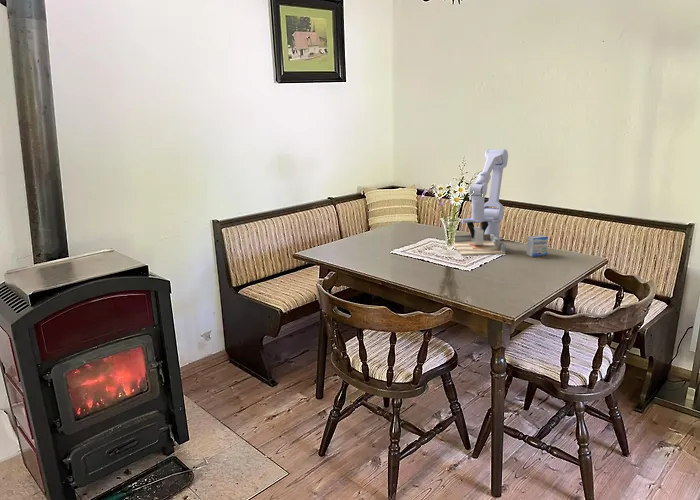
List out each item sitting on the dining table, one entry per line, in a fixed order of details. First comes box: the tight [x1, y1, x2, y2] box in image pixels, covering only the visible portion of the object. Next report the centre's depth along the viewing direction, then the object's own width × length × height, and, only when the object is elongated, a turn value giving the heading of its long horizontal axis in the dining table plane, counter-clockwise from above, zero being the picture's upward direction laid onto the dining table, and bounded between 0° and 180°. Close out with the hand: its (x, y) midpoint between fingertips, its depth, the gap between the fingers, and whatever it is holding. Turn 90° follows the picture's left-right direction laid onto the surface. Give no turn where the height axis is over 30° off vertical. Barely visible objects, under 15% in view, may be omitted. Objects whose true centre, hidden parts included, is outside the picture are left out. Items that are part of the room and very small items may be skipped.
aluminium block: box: [471, 225, 484, 245], centre depth 256 cm, size 4×7×7 cm, turn 1°
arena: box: [453, 233, 507, 256], centre depth 256 cm, size 22×20×4 cm
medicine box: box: [526, 234, 549, 258], centre depth 241 cm, size 8×4×9 cm, turn 105°
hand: (477, 237), depth 256 cm, fingers closed on aluminium block, 4 cm apart
